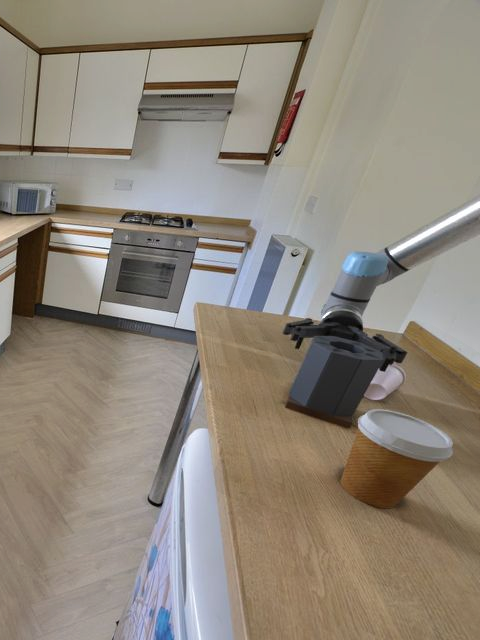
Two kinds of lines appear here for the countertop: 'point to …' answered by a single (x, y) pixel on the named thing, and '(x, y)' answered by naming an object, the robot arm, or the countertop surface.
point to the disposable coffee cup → (392, 456)
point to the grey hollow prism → (335, 375)
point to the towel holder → (338, 420)
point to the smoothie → (385, 382)
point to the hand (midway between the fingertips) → (340, 353)
